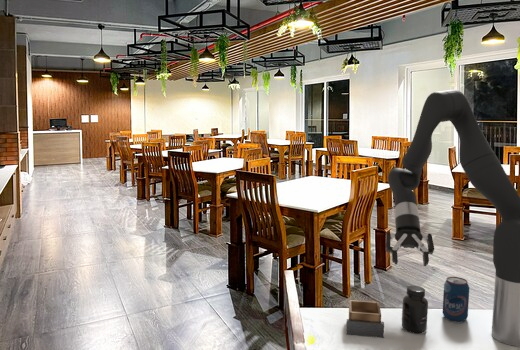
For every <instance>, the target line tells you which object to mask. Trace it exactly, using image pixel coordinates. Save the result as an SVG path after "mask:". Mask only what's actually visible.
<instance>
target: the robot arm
mask: <svg viewBox="0 0 520 350" xmlns="http://www.w3.org/2000/svg"><path fill="white" fill-rule="evenodd" d="M444 122H445V123H446V122H450V123H451V124H452V125H453V127H454V129H455V130H456V132H457V135H458V138H459V154H458V155H459V163H460V165H461V168H462V169H463V172H464V173H465V175H466V177H467V179H468V181H469V182H470V183H471V185H472V186H473V187H474V188H475V189H476V190H477V191H478V192H479V193H480V194H481V195H482V196H483V197H485V199H487V201H489V202H490V203H491V205H493V207H494V208H495V209H496V211H497V212H498V214H499V215H500V217H501V220H502V221H501V222H499V223H498V224H497V225H496V227H495V230H494V233H493V241H492V242H493V243H492V244H493V245H492V248H493V249H492V262H493V266H494V269H495V274H494V276H495V277H494V289H493V290H494V292H493V305H492V306H493V307H492V308H493V309H492V321H491V323H492V324H491V335H492V338H493V339H495V340H496V341H498V342H501V343H503V344H505V345H509V346H514V347H520V195H519V194H518V191H517V190H516V188H515V186H514V185H513V184H514V183H512V181H511V179H510V177H509V176H508V174H507V173H506V171H505V169H504V168H503V165H502V164H501V162H500V159H499V158H498V156H497V155H496V152H494V150H493V148H492V146H491V145H490V143H489V142H488V140H487V138H486V136H485V135H484V134H485V133H483V131H482V129H481V127H480V125H479V123H478V121H477V119H476V117H475V114H474V112H473V110H472V107H471V104H470V103H469V100H468V99H467V97H466V95H465V94H464V93H463V92H462V91H460V90H457V89H447V90H445V89H444V90H438V91H434V92H431V93H430V94H429V95H428V96H427V98H426V100H425V101H424V104H423V106H422V109H421V113H420V117H419V119H418V123H417V126H416V130H415V133H414V135H413V137H412V140H411V143H410V145H409V146H408V148H407V150H406V153H404V156H403V157H402V160H401V162H402V163H401V164H402V166H403V168H401V167H395V168H392V169H391V170H390V171H389V173H388V177H387V182H388V185H389V189H390V191H391V193H392V196H393V198H394V220H395V221H394V223H395V224H394V225H395V233H391V231H387V232H386V235H385V251H386V252H387V253H390V254H391V259H392V260H391V261H392V263H394V265H398V263H399V261H398V260H399V259H398V251H399V250H400V249H401V248H404V249H409V248H410V249H417V251H419V253H421V254H422V261H423V267H427V265H429V263H430V258H429V257H430V255H433V254H434V252H435V246H434V240H433V235H432V233H428V234H423V233H422V232H421V223H420V222H421V221H420V213H419V209H418V202H417V201H418V200H417V194H416V193H415V191H414V190H416V189H417V188H419V185H420V182H421V175H422V171H423V168H424V166H425V164H427V161H428V159H429V157H430V156H431V154H432V151H433V150H432V149H433V141H432V138H433V137H432V136H433V133H434V131H435V129H436V128H437V127H438V125H440V123H444ZM393 239H395V241H396V243H395V244H394V246H391V241H393ZM422 240H424V242H425V243H427V246H426V245H425V244H424V243H423V242H422Z"/></svg>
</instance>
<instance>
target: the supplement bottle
mask: <svg viewBox="0 0 520 350" xmlns="http://www.w3.org/2000/svg"><path fill="white" fill-rule="evenodd" d="M425 292H426V289H425V288H424V287H422V286H419V285H408V286H407V287H406V295H405V296H404V297H403V298H402V308H401V312H402V313H401V327H402V329H403V330H404V331H406V332H408V333H410V334H415V335H416V334H417V335H418V334H424V333H426V332H427V329H428V313H429V310H428V309H429V301H428V299H427V298H426V293H425Z"/></svg>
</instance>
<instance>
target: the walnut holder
mask: <svg viewBox="0 0 520 350" xmlns="http://www.w3.org/2000/svg"><path fill="white" fill-rule="evenodd" d="M381 311H382V310H381V306H380V302H378V301H369V300H368V301H367V300H354V299H353V300H352V299H349V300H348V319H352V320H364V321H377V322H382V312H381Z"/></svg>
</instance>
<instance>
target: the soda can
mask: <svg viewBox="0 0 520 350" xmlns="http://www.w3.org/2000/svg"><path fill="white" fill-rule="evenodd" d="M469 301H470V286H469V283H468V280H467V279H465V278H463V277H459V276H449V277H446V280H445V282H444V283H443V297H442V315H443V317H444V319H445V320H447V321H448V322H452V323H456V324H461V323H465V322H466V320H467V319H468V317H469Z"/></svg>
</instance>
